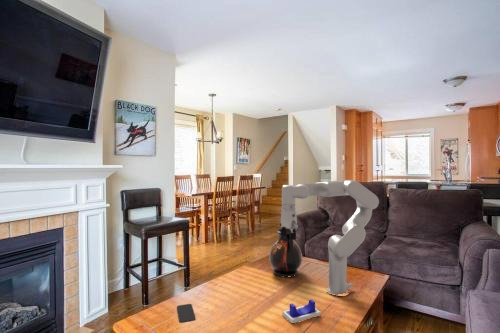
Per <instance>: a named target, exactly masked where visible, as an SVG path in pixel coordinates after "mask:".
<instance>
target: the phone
mask: <svg viewBox="0 0 500 333" xmlns="http://www.w3.org/2000/svg"><path fill="white" fill-rule="evenodd" d="M176 312H177V317H178V322H179V323H181V324H182V323H187V322H192V321H196V315H195V311H194V309H193V304H192V303H187V304H180V305H177V306H176Z"/></svg>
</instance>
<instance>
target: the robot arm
mask: <svg viewBox="0 0 500 333" xmlns="http://www.w3.org/2000/svg"><path fill="white" fill-rule="evenodd" d="M312 196H313V197H315V196H316V197H317V196H318V197H324V198H326V197H327V198H329V197H330V198H331V197H339V196H340V197H341V196H350V197H351V198H353V199H354V200H355V202H356V209H355V212H354V213H353V214H352V216H350V218H349V219H348V220H347V221H346V222H345V223H344V224H343V225H342V226H341V227H342V228H341V231H342V232H341V233H342V234H343V235H340V234H334V235H332V236H330V237H329V239H328V242H327V248H328V286H329V288H328V290H327V289H326V288H325V291H326V290H327V291H328V292H329V293H331V294H335V295H338V294H343V293H346V290H349V288H353V285H354V284H353V283H352V282H350V283H348V282H347V281H348V280H347V278H348V276H347V267H348V266H347V264H348V259H347V258H348V257H350V256H351V255H352V254H353V253H354V252H355V251H356V250H357V249H358V248H359V247H360V245H361V244H363V242H364V241H365V239H366V236H367V232H366V229H365V227H366V226H367V224H368V223H369V222H370V220H371V219H372V216H373V210H375V209H376V208H378V206H379V204H380V200H379V197H378V196H377V195H376V194H375V193H373V191H371V190H369V189H368V188H367V187H365V185H363V184H362V183H361V182H359V181H356V180H353V179H342V180H340V179H339V180H333V181H332V180H331V181H319V182H309V183H300V184H297V185H293V184H292V185H291V184H283V185H282V186H281V214H280V215H281V216H280V219H279V226H280V229H281V236H286V229H290V230H291V240H294V241H296V240H297V231H298V228H299V225H298V216H297V211H296V199H300V200H301V199H302V200H305V199H308V198H309V197H312ZM329 293H328V294H329Z"/></svg>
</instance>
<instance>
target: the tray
mask: <svg viewBox="0 0 500 333" xmlns="http://www.w3.org/2000/svg"><path fill="white" fill-rule="evenodd" d="M304 306H305V305H302V306H298V307H296V310H297V311H299V309H302V308H303V307H304ZM320 314H321V315H322V313H321V311H320V310H319V309H317V308H316V307H315V312H313V313H310V314H306V315H302V316H299V317H295V318H292V317H291V316H290V308H289V309H286V310H282V315H281V316H282V317H283V318H284V319H286V320H287V319H288V320H289V321H290V322H291V323H295V324H297V323H296V322H298V323H300V322H299V321H302V320H305V319H308V318H311V317H314V316H318V315H320ZM288 320H287V321H288ZM289 321H288V322H289ZM305 321H306V320H305ZM290 322H289V323H290ZM302 322H303V321H302ZM291 323H290V324H291Z"/></svg>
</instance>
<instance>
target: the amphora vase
mask: <svg viewBox="0 0 500 333" xmlns="http://www.w3.org/2000/svg"><path fill="white" fill-rule="evenodd" d="M275 233H276V234H278V239H277V240H276V241H275V242H274V243H273V245H272V246H271V248H270V251H269V254H268V255H269V256H268V257H269V258H268V259H269V263H270V265H271V267H272V268H273V270H272V272H273V273H274V275H275V274H276V275H275V276H277V275H279V276H278V277H280V276H284V277H283V278H287V277H288V276H294V275H296V276H298V274H299V269H300V267H301V266H302V263H303V253H302V250H301V248H300V246H299V244H297V242H296V240H291V230H290V229H289V228H286V236H281V228H279V229H276V230H275ZM294 277H295V276H294ZM288 278H289V277H288Z"/></svg>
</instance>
